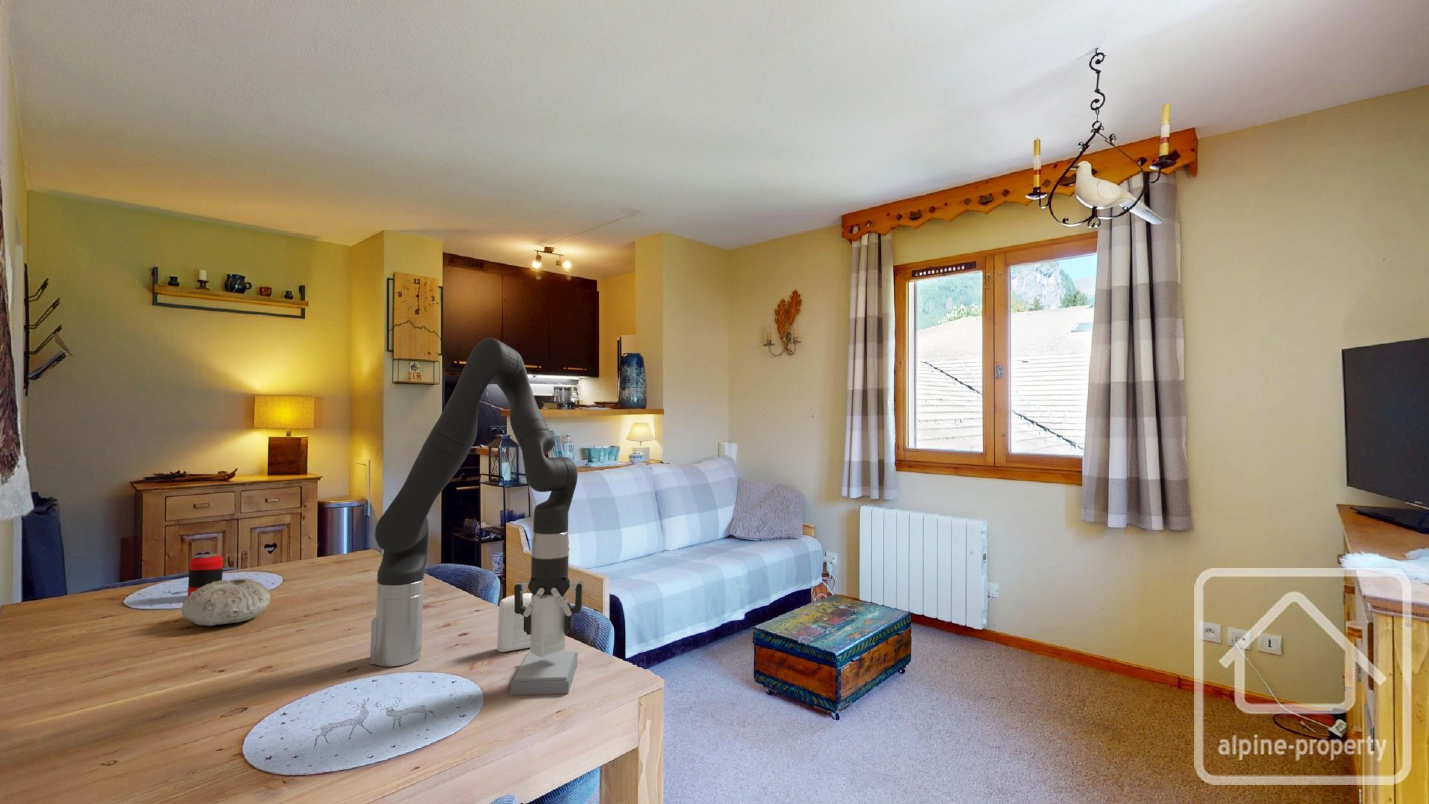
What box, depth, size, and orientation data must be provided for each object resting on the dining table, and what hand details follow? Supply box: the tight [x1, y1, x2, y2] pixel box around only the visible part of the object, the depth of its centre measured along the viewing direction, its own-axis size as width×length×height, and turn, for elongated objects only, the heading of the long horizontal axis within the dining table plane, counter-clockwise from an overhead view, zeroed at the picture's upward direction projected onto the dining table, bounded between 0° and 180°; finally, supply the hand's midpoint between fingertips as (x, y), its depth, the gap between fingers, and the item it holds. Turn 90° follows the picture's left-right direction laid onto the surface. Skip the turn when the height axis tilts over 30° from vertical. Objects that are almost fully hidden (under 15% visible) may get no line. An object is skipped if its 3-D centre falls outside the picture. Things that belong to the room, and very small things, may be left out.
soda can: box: [187, 553, 224, 598], centre depth 177 cm, size 8×8×12 cm
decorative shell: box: [181, 577, 271, 627], centre depth 157 cm, size 18×18×10 cm
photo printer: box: [496, 592, 532, 653], centre depth 144 cm, size 10×4×12 cm, turn 123°
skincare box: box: [529, 592, 567, 657], centre depth 127 cm, size 6×4×12 cm
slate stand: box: [510, 650, 579, 696], centre depth 126 cm, size 11×15×3 cm
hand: (548, 633), depth 127 cm, fingers closed on skincare box, 7 cm apart
